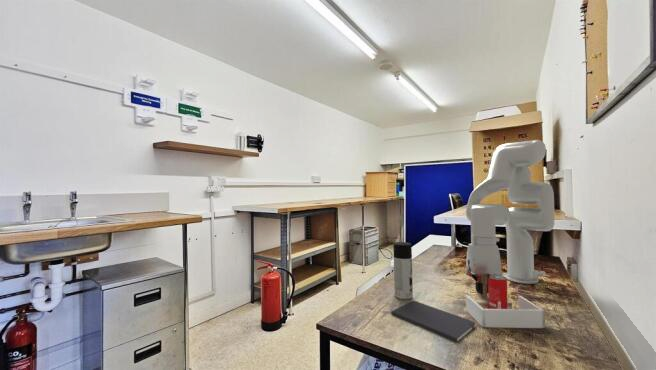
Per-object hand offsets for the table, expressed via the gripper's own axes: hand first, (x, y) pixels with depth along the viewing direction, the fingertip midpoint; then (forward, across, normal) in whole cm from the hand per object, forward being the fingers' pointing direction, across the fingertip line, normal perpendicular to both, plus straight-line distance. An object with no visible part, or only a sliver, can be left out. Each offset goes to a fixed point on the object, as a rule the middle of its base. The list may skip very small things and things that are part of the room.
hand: (484, 292), depth 95 cm
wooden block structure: (+4, 0, +1) cm, 4 cm away
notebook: (+4, +22, +13) cm, 26 cm away
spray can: (+4, +27, -5) cm, 28 cm away
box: (+4, 0, +11) cm, 11 cm away
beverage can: (+4, 0, +8) cm, 9 cm away
